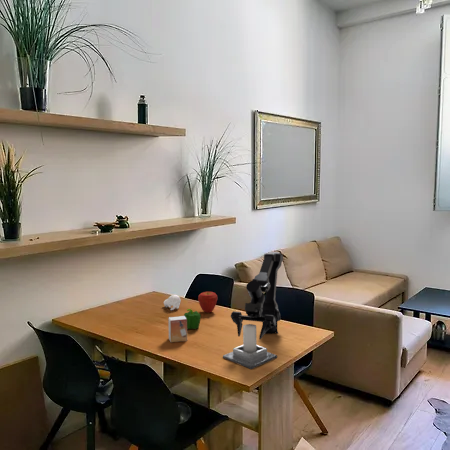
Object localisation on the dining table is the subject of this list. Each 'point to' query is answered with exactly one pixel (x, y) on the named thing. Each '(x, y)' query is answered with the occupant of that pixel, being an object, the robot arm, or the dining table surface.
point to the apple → (207, 301)
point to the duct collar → (250, 357)
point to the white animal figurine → (172, 302)
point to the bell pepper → (192, 319)
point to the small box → (177, 329)
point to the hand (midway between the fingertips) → (249, 337)
